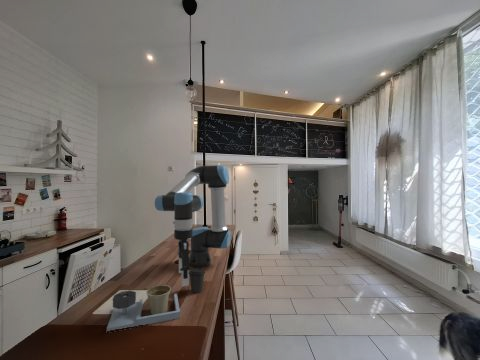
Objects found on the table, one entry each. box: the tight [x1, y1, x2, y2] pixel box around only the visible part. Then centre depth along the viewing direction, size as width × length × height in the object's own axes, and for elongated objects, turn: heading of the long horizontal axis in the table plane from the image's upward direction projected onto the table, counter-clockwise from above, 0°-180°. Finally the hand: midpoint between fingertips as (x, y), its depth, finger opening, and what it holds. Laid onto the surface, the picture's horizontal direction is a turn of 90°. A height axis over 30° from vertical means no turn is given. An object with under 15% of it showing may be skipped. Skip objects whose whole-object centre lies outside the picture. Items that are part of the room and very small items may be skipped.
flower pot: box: [146, 284, 172, 315], centre depth 91 cm, size 9×9×9 cm
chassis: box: [106, 293, 181, 332], centre depth 89 cm, size 25×16×8 cm, turn 110°
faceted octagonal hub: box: [112, 290, 137, 309], centre depth 87 cm, size 8×8×3 cm
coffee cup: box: [189, 268, 206, 294], centre depth 109 cm, size 8×8×10 cm
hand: (183, 278), depth 95 cm, fingers open, 13 cm apart
